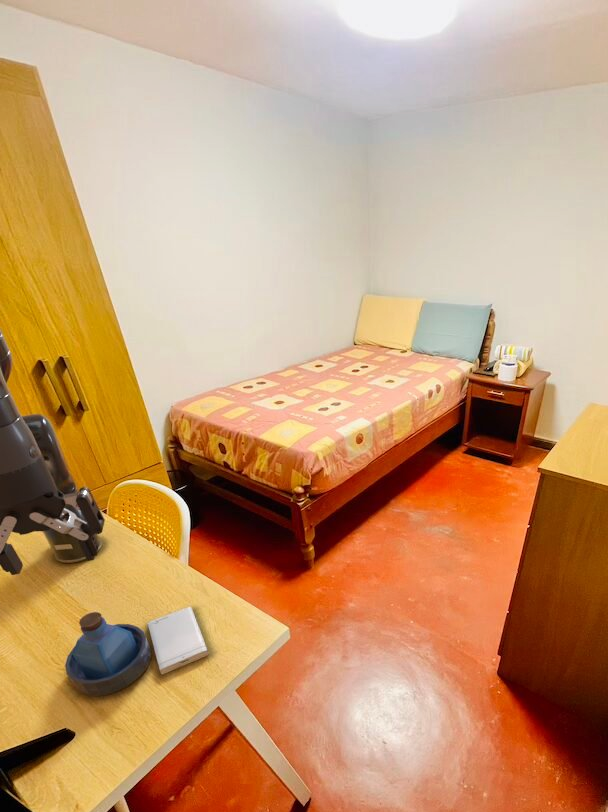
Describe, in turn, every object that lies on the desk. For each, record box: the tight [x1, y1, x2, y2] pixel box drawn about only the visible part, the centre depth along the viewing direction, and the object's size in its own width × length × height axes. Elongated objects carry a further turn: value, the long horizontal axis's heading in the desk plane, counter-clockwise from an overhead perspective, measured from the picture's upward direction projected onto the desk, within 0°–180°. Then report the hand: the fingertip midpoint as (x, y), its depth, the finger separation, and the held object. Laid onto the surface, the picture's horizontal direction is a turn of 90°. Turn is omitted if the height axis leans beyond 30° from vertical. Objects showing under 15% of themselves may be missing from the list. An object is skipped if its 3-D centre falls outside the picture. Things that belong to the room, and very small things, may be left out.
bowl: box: [64, 623, 152, 697], centre depth 75 cm, size 12×12×4 cm
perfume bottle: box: [72, 611, 140, 679], centre depth 72 cm, size 6×6×12 cm
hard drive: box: [147, 606, 209, 675], centre depth 80 cm, size 2×8×12 cm
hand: (55, 563), depth 57 cm, fingers open, 8 cm apart
